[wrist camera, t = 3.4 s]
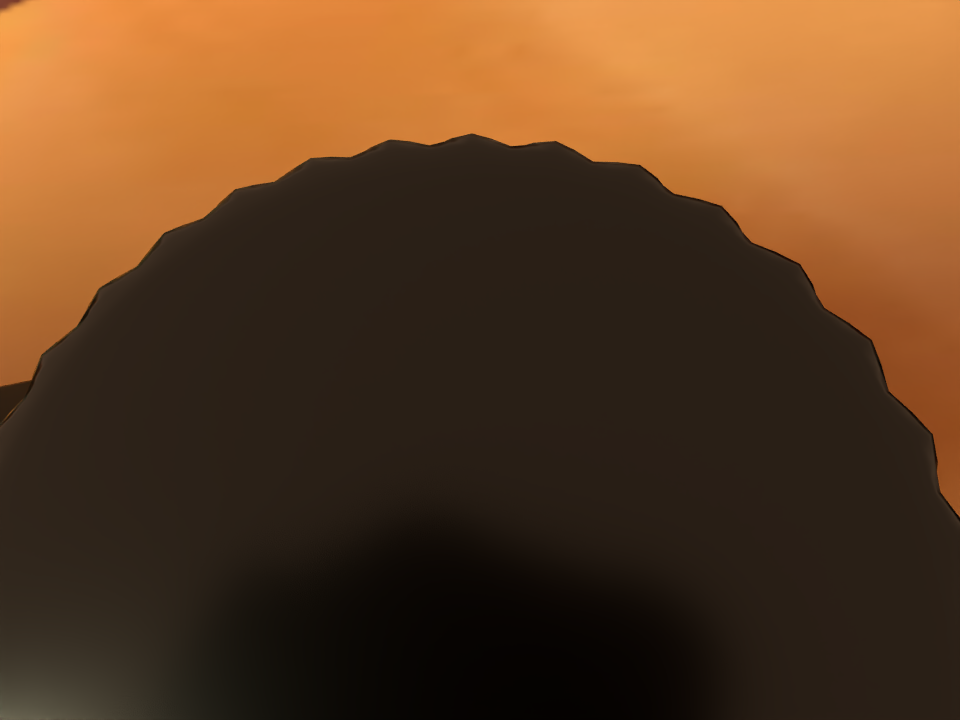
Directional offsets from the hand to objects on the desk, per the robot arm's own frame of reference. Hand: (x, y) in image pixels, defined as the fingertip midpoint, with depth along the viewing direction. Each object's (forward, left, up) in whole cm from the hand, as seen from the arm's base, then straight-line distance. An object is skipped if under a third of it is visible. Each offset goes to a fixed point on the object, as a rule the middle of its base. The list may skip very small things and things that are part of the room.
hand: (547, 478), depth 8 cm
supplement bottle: (0, -1, -7) cm, 7 cm away
